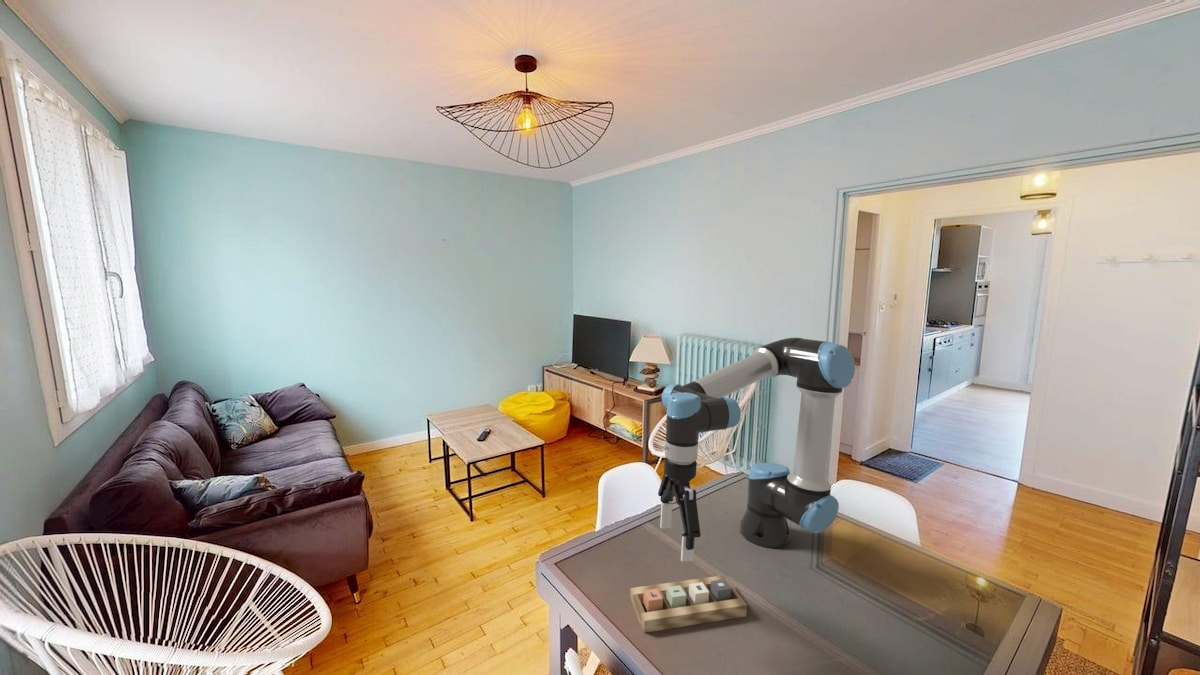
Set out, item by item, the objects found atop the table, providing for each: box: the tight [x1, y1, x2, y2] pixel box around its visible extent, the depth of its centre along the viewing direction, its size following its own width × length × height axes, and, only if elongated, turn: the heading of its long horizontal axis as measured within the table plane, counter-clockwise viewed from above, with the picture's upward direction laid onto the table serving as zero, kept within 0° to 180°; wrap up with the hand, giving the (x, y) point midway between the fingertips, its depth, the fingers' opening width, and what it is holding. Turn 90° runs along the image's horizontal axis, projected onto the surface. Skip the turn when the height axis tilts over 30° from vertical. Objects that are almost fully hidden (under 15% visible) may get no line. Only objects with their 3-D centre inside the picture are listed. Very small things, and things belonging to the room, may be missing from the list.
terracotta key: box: [643, 588, 663, 612], centre depth 107 cm, size 4×4×3 cm
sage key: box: [666, 585, 686, 609], centre depth 108 cm, size 4×4×3 cm
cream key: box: [689, 582, 709, 605], centre depth 109 cm, size 4×4×3 cm
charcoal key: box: [710, 579, 731, 602], centre depth 111 cm, size 4×4×3 cm
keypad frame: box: [629, 574, 748, 634], centre depth 109 cm, size 26×11×3 cm, turn 103°
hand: (675, 542), depth 107 cm, fingers open, 13 cm apart
